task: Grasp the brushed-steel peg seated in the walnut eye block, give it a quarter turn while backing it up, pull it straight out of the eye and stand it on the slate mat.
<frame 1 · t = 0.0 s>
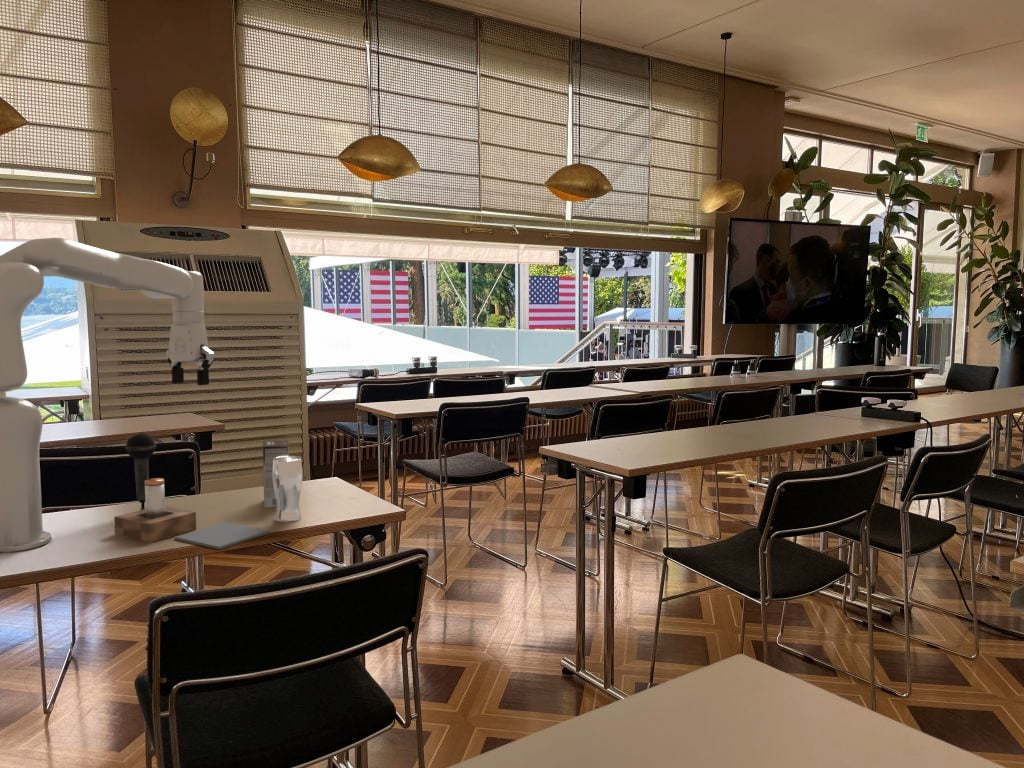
hand: (190, 383, 198), 31 cm above the table, fingers open, 9 cm apart
microphone: (143, 513, 188), on the table
steel peg: (155, 505, 172), in the eye block
slate mat: (222, 536, 169), on the table
beer glass: (288, 519, 184), on the table
coffee box: (276, 503, 199), on the table
eye block: (156, 531, 172), on the table
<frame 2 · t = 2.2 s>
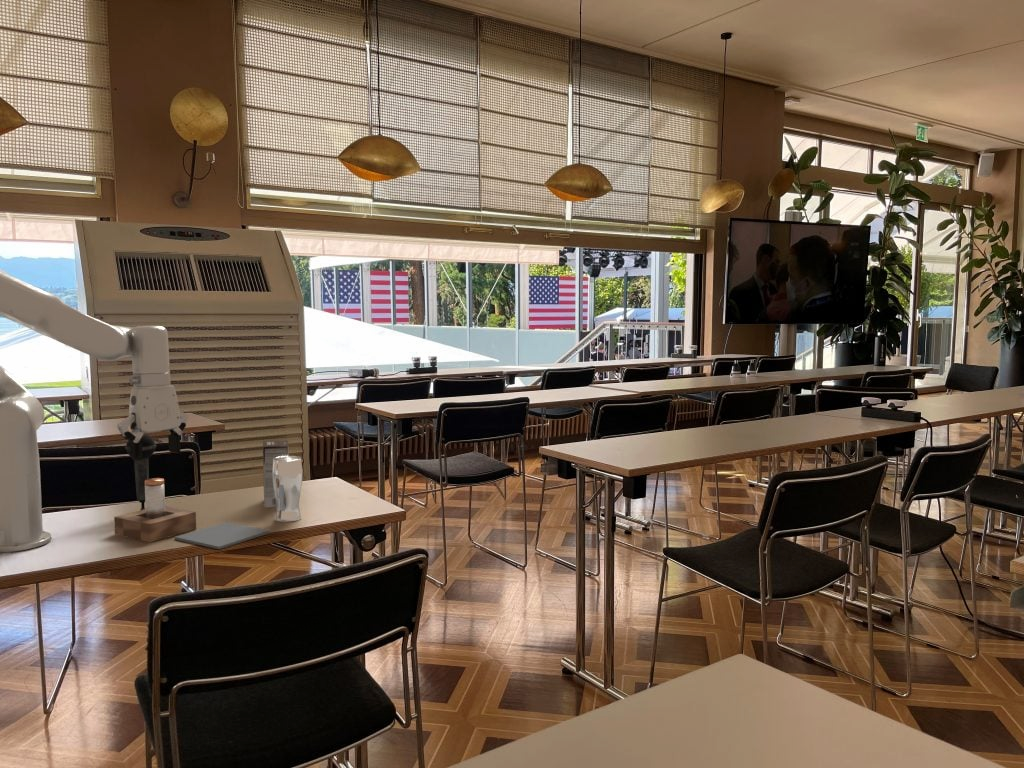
hand: (156, 455, 171), 17 cm above the table, fingers open, 9 cm apart
nothing on the table moved.
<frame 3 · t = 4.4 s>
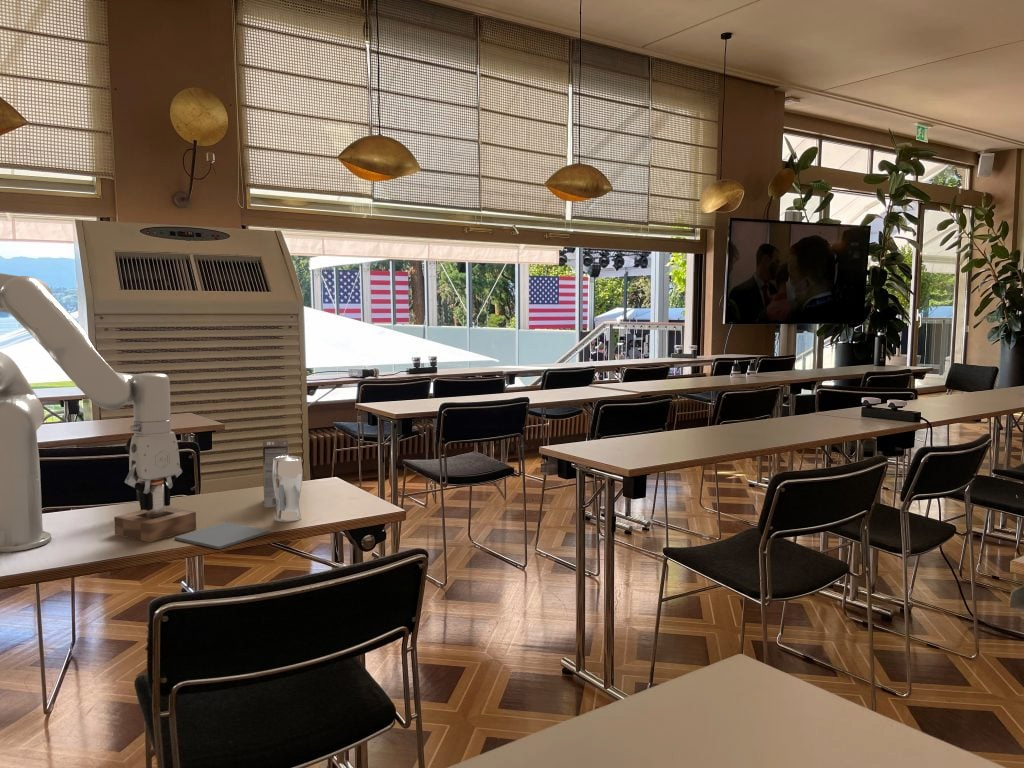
hand: (155, 506, 172), 6 cm above the table, fingers closed on steel peg, 4 cm apart
steel peg: (155, 505, 172), in the eye block, touching gripper
everything else where it was.
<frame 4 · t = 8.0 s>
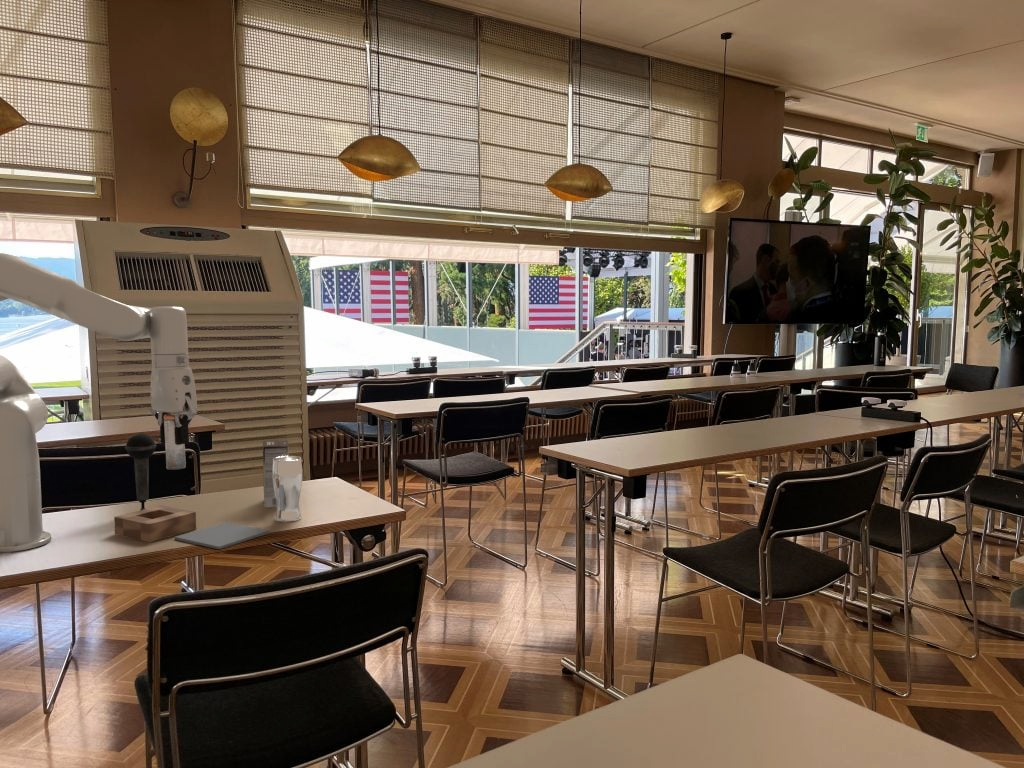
hand: (174, 442, 170), 21 cm above the table, fingers closed on steel peg, 4 cm apart
steel peg: (174, 441, 170), point 21 cm above the table, touching gripper
everything else where it was.
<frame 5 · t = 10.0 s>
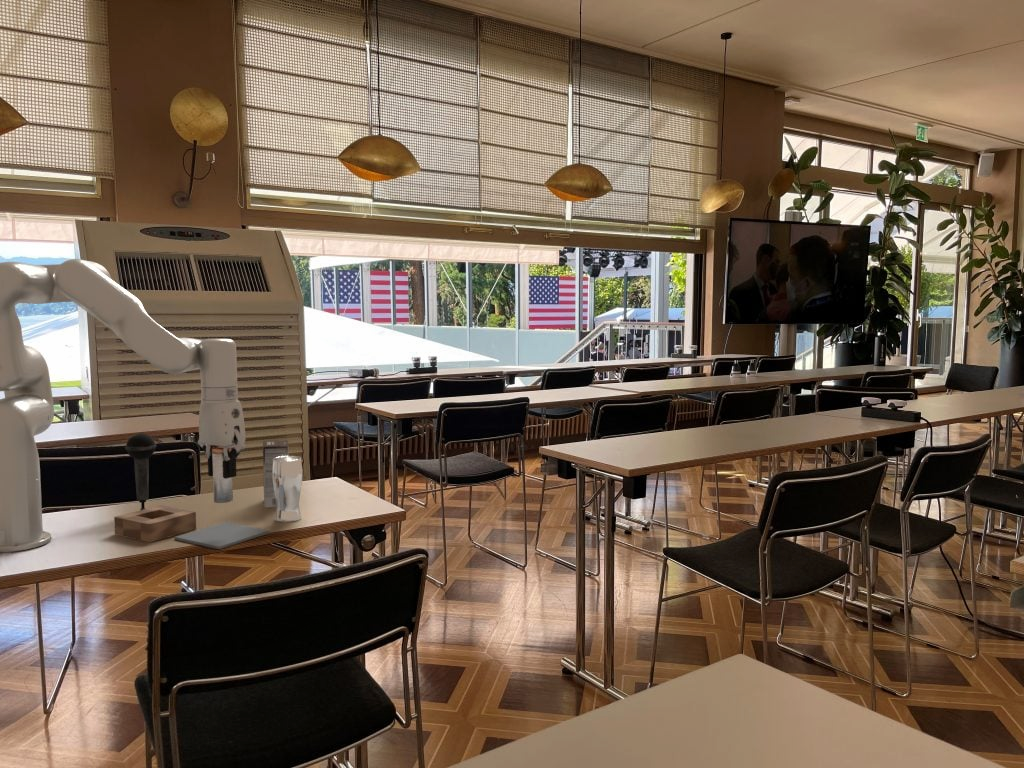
hand: (222, 475, 168), 14 cm above the table, fingers closed on steel peg, 4 cm apart
steel peg: (222, 474, 168), point 14 cm above the table, touching gripper
everything else where it was.
when the fingers open (8 cm above the table, at t = 11.8 s): steel peg drops 1 cm, resting on slate mat.
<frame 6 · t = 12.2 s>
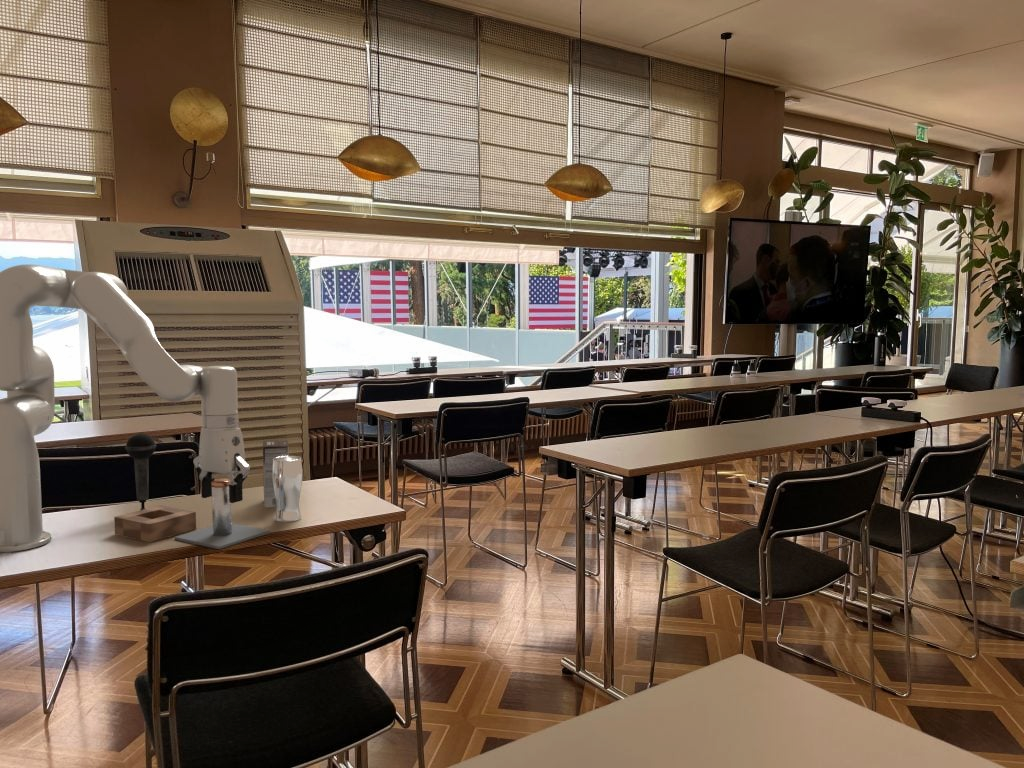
hand: (222, 498, 168), 9 cm above the table, fingers open, 8 cm apart
steel peg: (221, 507, 168), on the slate mat, point 7 cm above the table
everything else where it was.
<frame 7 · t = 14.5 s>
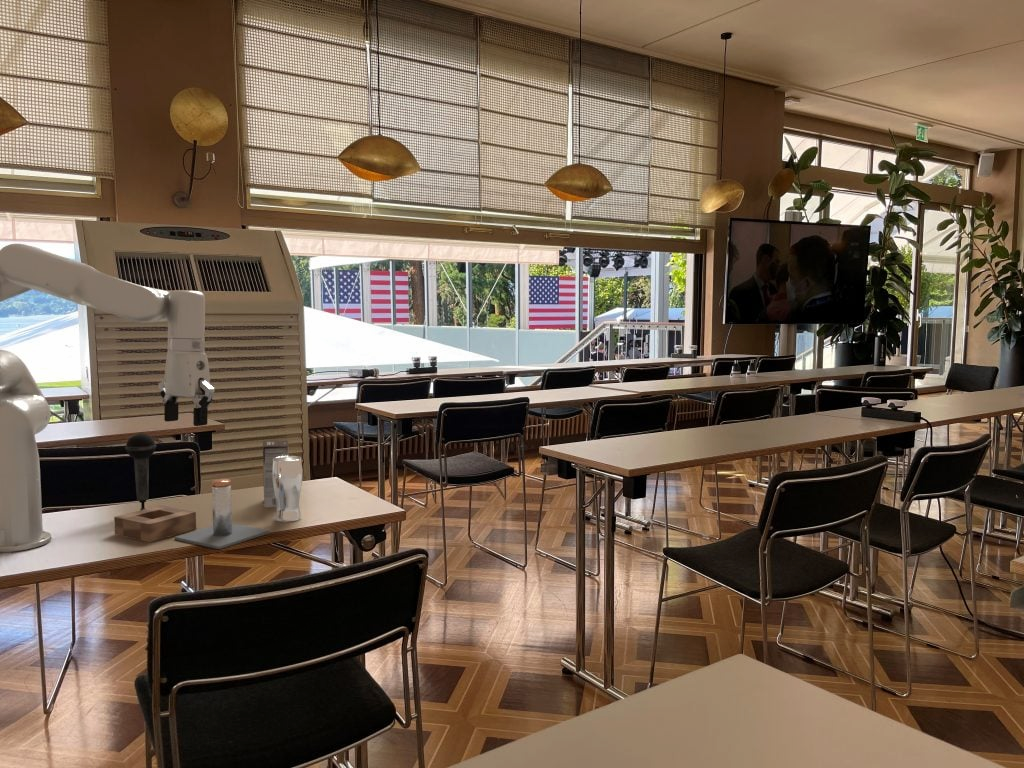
hand: (185, 423, 168), 25 cm above the table, fingers open, 9 cm apart
nothing on the table moved.
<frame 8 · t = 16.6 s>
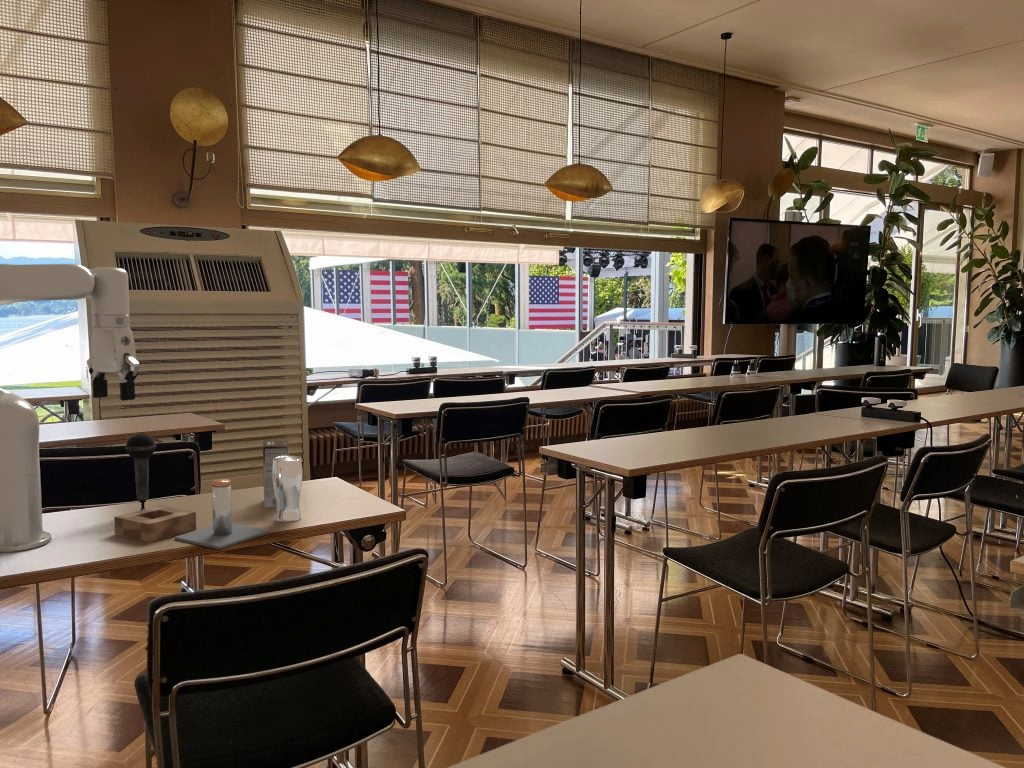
hand: (114, 398, 171), 30 cm above the table, fingers open, 9 cm apart
nothing on the table moved.
at the end: steel peg inside the target area on the slate mat (0.1 cm from its centre), point 6.6 cm above the slate mat's base; steel peg tilted 0°; steel peg touching slate mat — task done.
